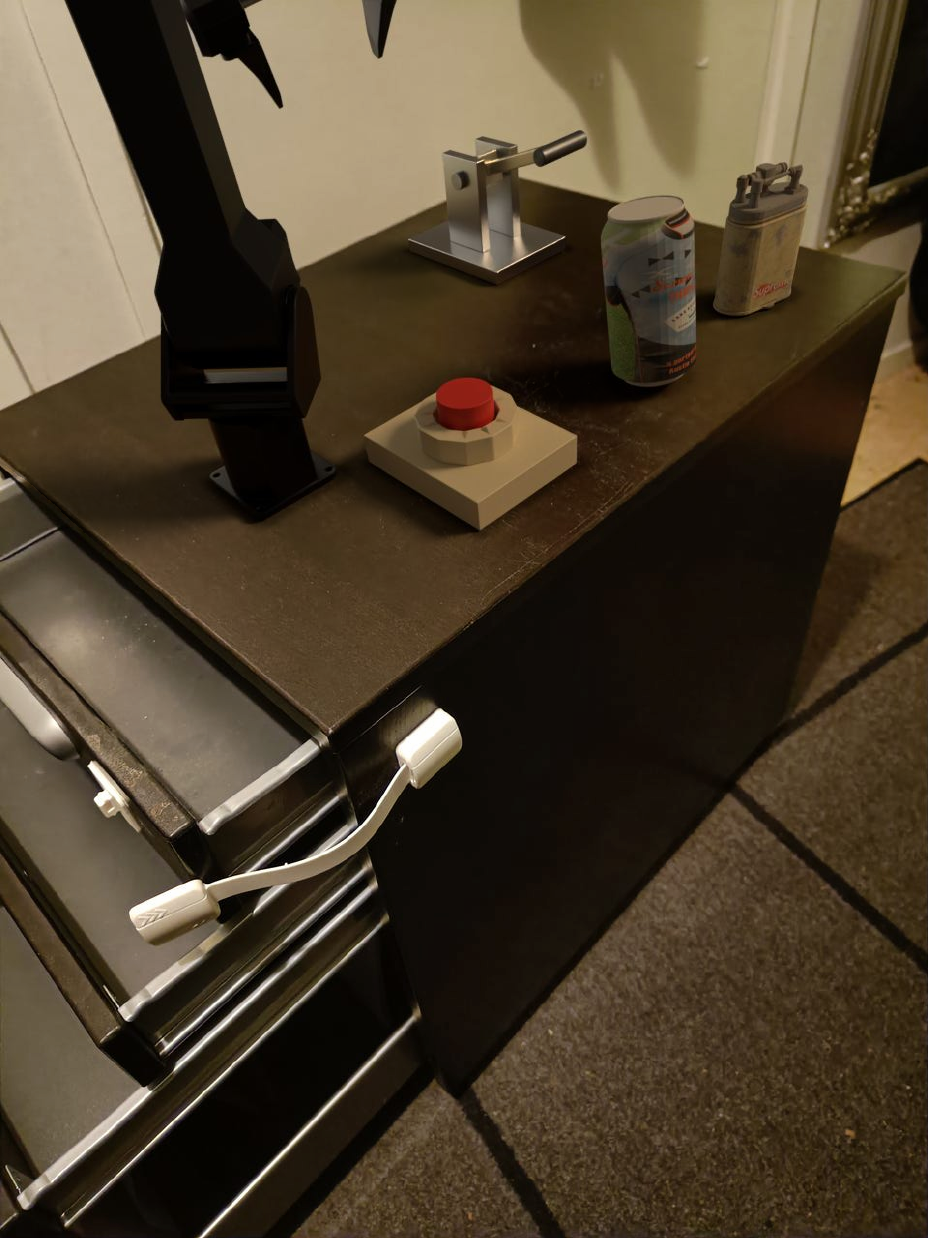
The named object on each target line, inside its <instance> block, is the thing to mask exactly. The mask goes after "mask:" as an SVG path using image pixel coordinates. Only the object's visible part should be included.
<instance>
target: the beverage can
mask: <svg viewBox="0 0 928 1238" xmlns="http://www.w3.org/2000/svg"><path fill="white" fill-rule="evenodd" d="M695 242H696V241H695V221H694V218H693V216H692V215H691V213H689V211H688V209H687V208H686V202H685V200H684V198H682V197H680V196H677V195H670V194H669V195H668V194H662V195H661V194H660V195H658V194H657V195H649V196H641V197H637V198H632V199H630V200H627V201H624V202H621V203H619V204H617V205H615V206H613V207H611V208H610V209H609V210H608V212H607V221H606V223H605V225H604V227H603V229H602V231H601V235H600V246H601V259H602V270H603V271H602V272H603V281H604V284H603V285H604V293H605V295H604V296H605V307H606V319H607V330H608V343H609V353H610V354H609V355H610V366H611V372H612V374H613V375H614V376H616V377H617V378H619V379H620V380H623V381H625V382H626V383H627V384H630V385H632V386H637V387H642V388H644V387H646V388H647V387H651V388H652V387H658V386H664V385H667V384H671V383H674V382H675V381H677V380H678V379H680V378H681V377H683V376H684V375H685V373H688V371H690V370H691V369H692V368H693V367H694V366H695V364H696V362H697V322H696V321H697V320H696V318H697V314H696V313H697V312H696V254H695V253H696V251H695V249H696V248H695V247H696V246H695V244H696V243H695Z"/></svg>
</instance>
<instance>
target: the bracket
mask: <svg viewBox="0 0 928 1238" xmlns="http://www.w3.org/2000/svg"><path fill="white" fill-rule="evenodd" d="M474 149H475V155H471V154H466V153H463V152H460V151H456V150H452V149H448V150H446V151H443V152H442V153H441V157H442V168H443V169H442V170H443V179H444V188H445V198H446V199H445V200H446V210H447V220H445V221H444V222H442V223H440V224H437V225H435V226H433V227H431V228H429V229H426V230H424V231H422V232H420V233H418V234H415V235H413V236H412V237H409V238H408V239H407V241H408V248H409V251H410V253H414V254H417V255H419V256H421V257H424V258H426V259H429V260H432V261H434V262H437V263H440V264H442V265H445V266H448V267H450V268H452V269H455V270H457V271H460V272H463V273H466V274H468V275H470V276H473V277H475V278H478V279H481V280H483V281H486V282H489V283H491V284H494V285H496V286H498V285H500V284H503V283H504V282H506V281H508V280H510V279H512V278H514V277H516V276H518V275H520V274H521V273H523V272H525V271H527V270H529V269H531V268H532V267H535V266H536V265H538V264H540V263H542V262H544V261H546V260H548V259H549V258H551V257H553V256H555V255H557V254H559V253H562V251H564V250H566V248H567V247H566V239H567V238H566V235H562V234H559V233H557V232H553V231H549V230H547V229H544V228H541V227H537V226H534V225H531V224H528V223H526V222H522V221H521V203H520V176H519V175H520V174H519V168H516V169H513V170H509V171H505V172H502V174H503V178H504V179H502V180H500V181H498V182H496V183H494V184H491V185H489V186H487V187H486V174H485V160H484V159H481V158H478V157H474V156H476V155H480V154H483V153H486V152H489V151H492V150H496V152H497V156H498V159H499V158H503V157H506V156H509V155H513V154H516V153H519V148H518V144H515V143H512V142H507V141H504V140H500V139H496V138H493V137H488V136H483V135H482V136H479V137H477V138H475V139H474Z"/></svg>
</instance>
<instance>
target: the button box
mask: <svg viewBox="0 0 928 1238" xmlns="http://www.w3.org/2000/svg"><path fill="white" fill-rule="evenodd" d="M490 386H491V387H492V389H493V401H494V418H493V420H492V422H491V423H489V424H487V425H486V426H484V427H482V428H478V429H473V430H468V431H456V430H448V429H446V428H445V427H443V426H442V425H441V424H440V422H439V418H438V410H437V402H436V392H434V393H433V394H431V395H429V396H427V397H426V398H424V399H423V400H422V401H420V402H418V403H416V404H415V405H412V407H410V408H408V409H406V410H405V411H403V412H401V413H400V414H397V415H396V416H395V417H393V418H391V419H389V420H388V421H386V422H384V423H383V424H380V425H379V426H377V427H376V428H373V429H372V430H370V431H368V432H367V433H365V434H364V435H363V439H364V444H365V448H366V453H367V459H368V462H369V463H370V464H372V465H373V466H375V467H376V468H379V469H380V470H382V471H383V472H385V473H386V474H387V475H390V476H391V477H393V478H395V479H396V480H398V481H399V482H401V483H403V484H404V485H405V486H407V487H409V488H411V489H412V490H414V491H415V492H417V493H418V494H420V495H422V496H423V497H425V498H427V499H428V500H430V501H431V502H433V503H434V504H436V505H438V506H439V507H441V508H443V509H444V510H445V511H447V512H448V513H451V514H452V515H454V516H455V517H457V518H458V519H460V520H462V521H463V522H465V523H466V524H469V525H470V526H471V527H473V528H474V529H476V530H478V531H482V530H484V529H485V528H486V527H487V526H489V525H491V524H492V523H493V522H495V521H497V520H498V519H499V518H500V517H502V516H504V515H505V514H506V513H508V512H509V511H511V510H512V509H513V508H515V507H516V506H518V505H520V503H522V502H523V501H525V500H526V499H528V498H529V497H531V496H532V495H533V494H535V493H536V492H538V490H540V489H542V488H543V487H545V486H546V485H548V484H549V483H550V482H552V481H553V480H555V479H556V478H558V477H559V476H561V475H562V474H563V473H565V472H566V471H568V470H570V469H571V468H572V467H574V466H575V465H576V464H578V435H577V434H575V433H572V432H570V431H568V430H566V429H564V428H563V427H561V426H558V425H556V424H554V423H552V422H550V421H548V420H547V419H544V418H542V417H540V416H538V415H536V414H534V413H532V412H530V411H528V410H526V409H524V408H522V407H519V406H517V404H516V402H515V400H514V398H513V396H512V395H511V394H510V393H508V392H506V391H504V390H502V389H500V388H497V386H496V387H495V386H494V385H490Z"/></svg>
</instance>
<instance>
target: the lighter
mask: <svg viewBox="0 0 928 1238" xmlns="http://www.w3.org/2000/svg"><path fill="white" fill-rule="evenodd" d="M803 171H804V167H803V164H798V165H795V166H791V167H789V165H788V163H787V162H786V161H785V162H779V163H776V164H774V163H770V162H764V163H763V162H762V163H760V164H758V165H756V166H755V172H751V173H748V174H741V175H739V176H738V177H737V178H736V183H735V184H736V185H735V187H736V194H735V197H734V198H733V199H732V201H731V202H730V203H729V206H728V214H727V216H726V218H725V222H724V229H723V236H722V237H723V238H722V243H721V252H720V257H719V266H718V274H717V281H716V288H715V295H714V296H715V297H714V300H713V303H712V307H713V309H714V310H715V311H716V312H717V313H720V314H723V315H726V316H732V317H733V316H735V317H738V316H739V317H740V316H747V315H750V314H753V313H754V312H757V311H759V310H768V309H771V308H773V307H774V306H775V303H778V302H780V301H782V300H785V299H787V298H789V297H790V296H791V293H792V283H793V278H794V273H795V270H796V264H797V261H798V260H797V258H798V255H799V250H800V246H801V245H800V244H801V241H802V236H803V230H804V226H805V219H806V216H807V210H808V204H807V202H808V196H809V188H808V187H807V186H806V185H805V184H803V183H800V181H801V178H802V175H803ZM786 176H788V177H790V181H782V182H775V181H776V180H778V179H781V178H784V177H786ZM774 182H775V183H774ZM749 187H750V190H749V192H748V193H747V189H748V188H749Z"/></svg>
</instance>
